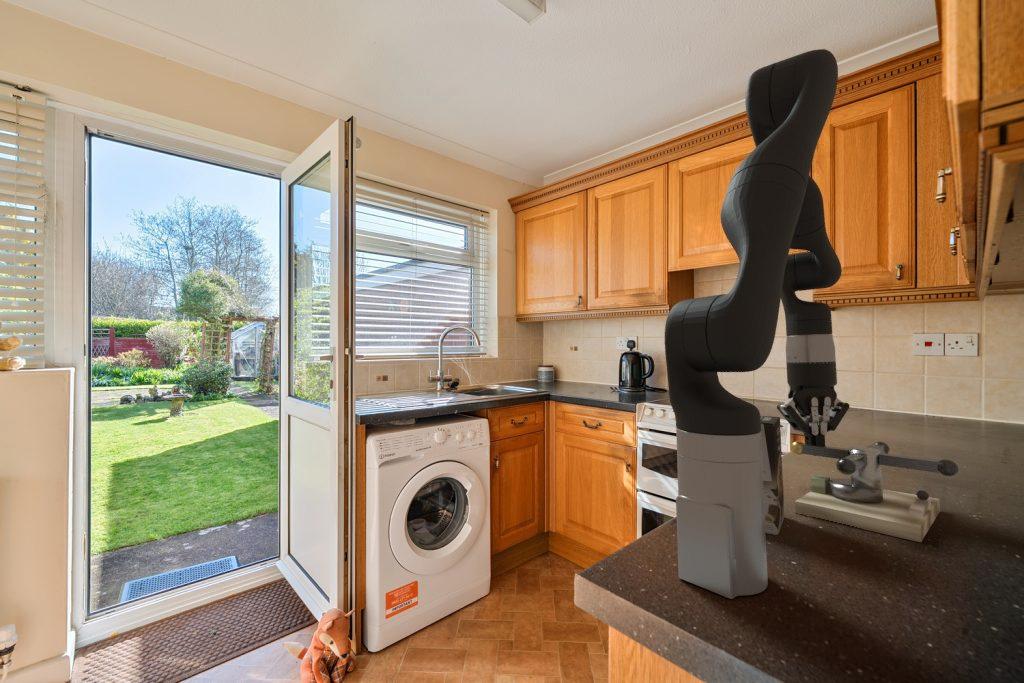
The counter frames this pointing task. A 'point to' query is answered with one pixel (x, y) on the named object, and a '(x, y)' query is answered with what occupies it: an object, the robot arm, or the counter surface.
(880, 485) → the capstan
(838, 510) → the stand
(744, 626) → the counter surface
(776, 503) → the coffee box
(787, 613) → the counter surface
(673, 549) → the counter surface
